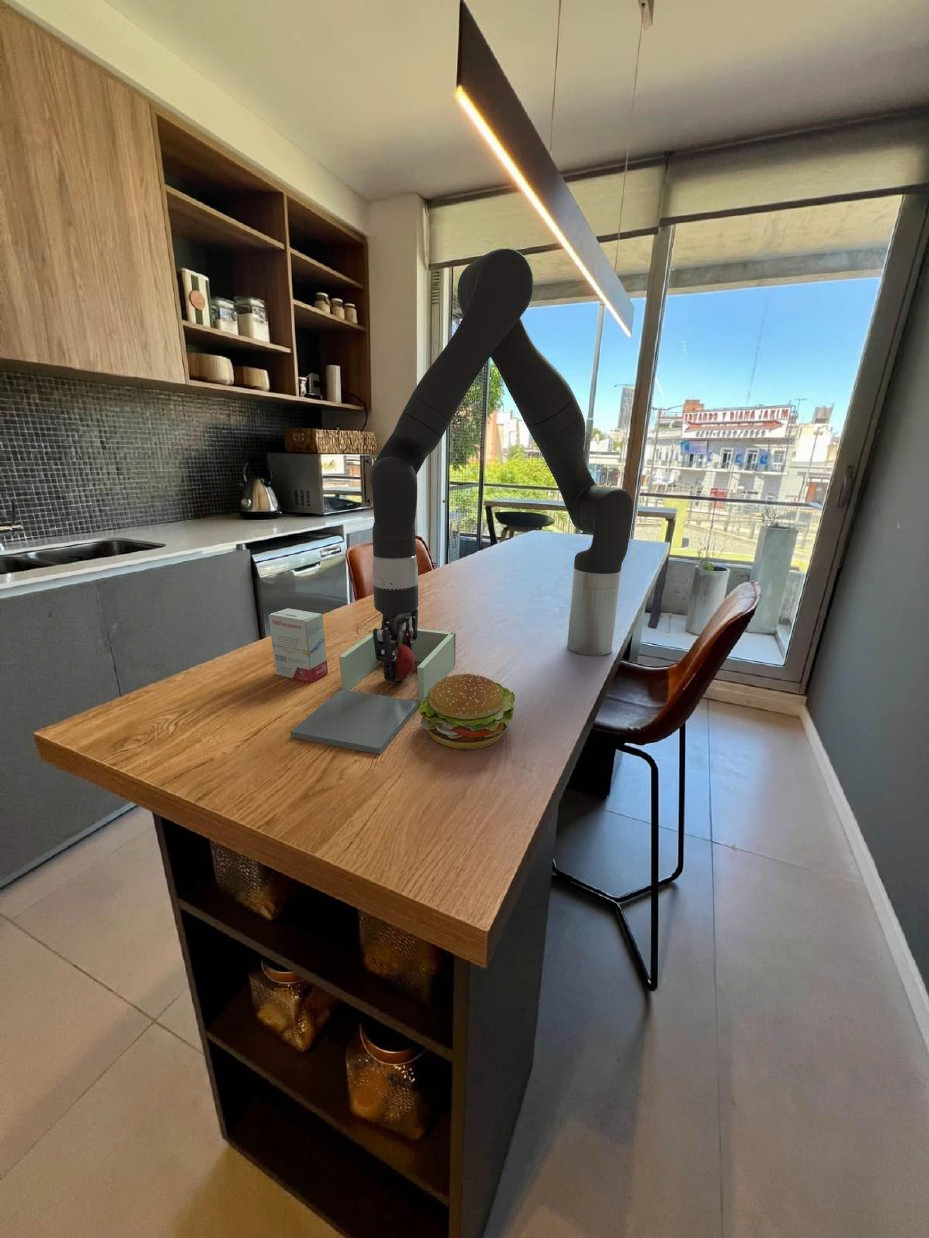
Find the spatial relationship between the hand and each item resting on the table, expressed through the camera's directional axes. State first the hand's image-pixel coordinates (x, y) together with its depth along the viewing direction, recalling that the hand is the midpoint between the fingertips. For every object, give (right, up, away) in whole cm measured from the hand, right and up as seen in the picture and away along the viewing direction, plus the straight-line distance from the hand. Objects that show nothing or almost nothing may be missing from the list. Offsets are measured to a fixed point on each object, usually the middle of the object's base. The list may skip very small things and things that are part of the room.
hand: (398, 672), depth 87 cm
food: (+12, -7, -15) cm, 21 cm away
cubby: (0, -1, +1) cm, 2 cm away
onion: (0, -2, +1) cm, 2 cm away
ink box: (-18, -1, +3) cm, 18 cm away
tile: (-4, -6, -13) cm, 15 cm away
